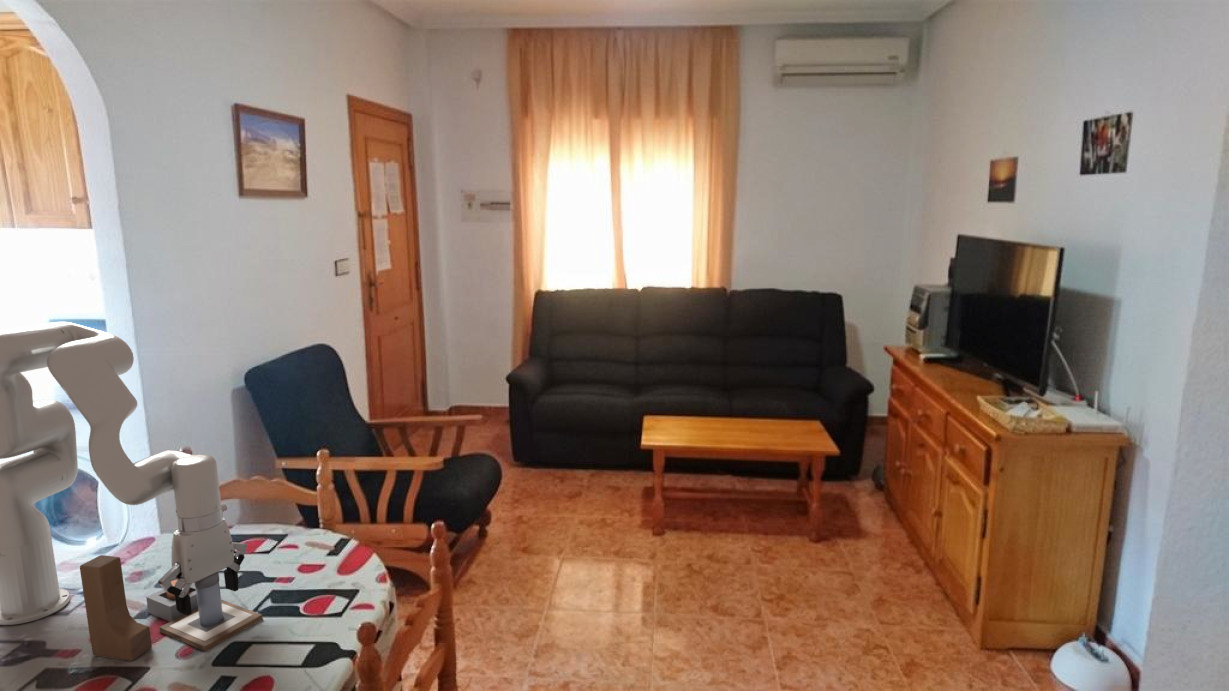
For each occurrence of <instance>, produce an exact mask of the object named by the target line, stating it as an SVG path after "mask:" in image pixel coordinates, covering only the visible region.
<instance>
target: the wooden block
mask: <svg viewBox="0 0 1229 691" xmlns="http://www.w3.org/2000/svg"><path fill="white" fill-rule="evenodd" d="M79 572H80V578H81V585H82V586H81V587H82V592H83V593H82V594H83V599H84V605H85V613H86V619H87V624H88V634H89V640H90V648H91V653H92V655H93V656H95V657H102V658H111V659H117V660H122V661H123V660H124V661H128V662H129V661H130V662H133V661H135V660H136V659H137V658H139V657H140V656H142V655H143V654H145V653H146V652H147V651H149V650H151V649H152V647H153V646H152V644H153V643H152V637H151V629H150V627H149V625H146V624H142V623H140V622H138V621H136V619H135V618H133V617H132V615H131V613H130V611H129V608H128V604H127V598H126V591H125V590H126V589H125V583H124V576H123V569H122V560H121V557H119V556H111V555H103V554H101V555H100V554H99V555H98V556H97V557H95V558H92V559H91V560H89V561H87V562H84V563H82V564H80V566H79Z"/></svg>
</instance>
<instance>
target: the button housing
mask: <svg viewBox="0 0 1229 691" xmlns="http://www.w3.org/2000/svg"><path fill="white" fill-rule="evenodd" d="M188 595H189V596H190V602H191V611H193V610H195V609H197V608H198V603H197V595H196V587H195V583H192V585H191V586H190V588H189V594H188ZM146 605H147V612H148V614H151V615H152V616H155V617H157V618H160V619H163V620H164V621H168V623H169V622H171V621H173V620H175V619H177V618H179V617H181V616H183V615H185V614H183V613H180V612H179V611H177V608H176V601H175V600H169V599H167V595H166V591H164V589H163V588H162V589H161V590H159V591H156V592H154V593H153V594H150V595H148V596H146Z"/></svg>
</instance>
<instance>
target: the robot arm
mask: <svg viewBox="0 0 1229 691" xmlns="http://www.w3.org/2000/svg"><path fill="white" fill-rule="evenodd" d="M133 364H134V352H133V350H132V349H131V347H130V346H129V344H128V343H127V342H126V341H125V340H123V339H122V338H121V337H119V336H117V335H115V334H112V333H109V332H106V331H103V330H99V329H95V328H91V327H87V326H86V325H85V326H84V325H81V324H77V323H73V322H69V321H55V322H47V323H40V324H39V323H38V324H34V325H33V324H32V325H25V326H18V327H13V328H12V327H11V328H6V329H1V330H0V460H1V459H2V460H3V459H4V460H5V459H9V458H14V457H18V456H21V455H23V454H27V453H30V454H27V455H24V456H22V457H18V458H15V459H12V460H8V461H6V462H3V463H0V626H13V625H15V626H16V625H20V624H25V623H26V624H27V623H30V622H31V623H32V622H33V621H38V620H40V619H43V618H46V617H48V616H50V615H53V614H54V613H56V612H58V611H60V610H61V609H63V608H64V607H65V606H66V605H67V604H68V603H69V602H70V600H71V595H70V592H69V591H68V590H67V589H65V588H60V585H59V578H58V571H57V566H56V565H57V564H56V558H55V553H54V545H53V539H52V532H51V527H50V524H49V520H48V518H47V517H46V516H45V515H44V513H42V512H41V511H40V510H39V509H37V507H36V505H35V504H36V503H37V502H39V501H41V500H43V499H46V498H48V497H51V496H53V495H55V494H58V493H60V492H62V491H64V490H67V489H68V488H69V487H71V486H72V485H73V484H74V482H75V481H76V479H77V477H78V476H77V475H78V471H79V470H78V468H79V466H78V464H79V463H78V448H77V435H76V434H77V432H76V424H75V419H74V417H73V415H72V413H71V411H70V410H69V408H67V406H66V405H64V404H63V403H62V402H60V401H58V400H55V399H49V398H47V399H38V400H35V401H34V399H33V388H32V385H31V383H30V382H29V380H28V378H26V376H25V375H24V374H22V373H23V372H24V373H25V372H29V371H34V370H38V369H39V370H40V369H44V368H48V370H49V373H50V374H51V375H52V377H53V378H54V379H55V381H56V382H57V383H58V385H59V386H60V388H61V389H62V390H63V391H64V393H65V395H67V396H68V398H69V399H70V400H71V401H72V403H73V405H74V406H75V407H76V409H77V410H78V412H79V413H80V414H81V416H83V417H84V419H85V420H86V421H87V423H88V426H89V427H90V428H89V430H90V432H89V436H88V453H89V460H90V464H91V467H92V470H93V472H94V473H95V474H96V476H97V478H98V479H99V480H100V482H101V483H102V484H103V485H104V487H105V488H106V489H107V490H108V492H109V493H110V494H111V495H112V496H113V497H114V498H115V499H116V500H118V501H119V502H120V503H123V504H124V505H129V506H138V505H142V504H145V503H147V502H149V501H151V500H153V499H155V498H158V497H159V496H161V495H163V494H165V493H168V492H171V491H173V500H174V505H175V506H174V508H175V516H176V523H177V530H174V531H173V534H172V539H171V540H172V541H171V554H170V555H171V567H170V569H169V570H167V571H166V573H165V574H163V576H161V578H159V580H158V581H157V584H158V585H159V586H160V587H161V588H162V590H163V589H164V591H166V592H169V593H171V594H174V595H175V601H176V608H177V611H179V612H180V613H183V614H185V615H190V614H191V613H192V611H191V602H190V596H189V595H188V594H187V592H188V590H189V588H190V586H191V585H192V583H195V582H197V581H199V580H201V579H204V578H206V577H208V576H210V575H212V574H214V573H216V572H220V571H223V577H224V585H225V586H224V587H225V589H227V590H230V591H232V592H237V591H239V574H238V573H239V571H240V570H241V564H242V563H243V561H244V560H245V554H246V551H247V549H248V544H246V543H245V542H233V538H232V536H231V535H232V534H231V531H230V528H229V526H228V522H227V520H226V519H225V518H224V512H225V511H227V510H228V506H227V505H226V504H224V503H223V504H222V501H221V490H220V482H219V472H218V465H217V461H216V459H215V457H213V456H212V455H209V454H190V453H187V452H184V451H180V450H175V449H168V450H167V449H166V450H163V451H161V452H158V453H155V454H153V455H150V456H148V457H145V458H142V459H141V460H138V461H135V462H133V461H131V459H130V457H128V455H127V453H126V452H125V451H124V449H123V447H122V446H123V445H122V444H121V439H120V434H121V429H122V426H123V424H124V422H125V421H126V419H128V418H129V417H130V416H131V415H132V414H133V413H134V412H135V411H136V409H137V407H138V400H137V399H136V397H135V396H134V395H133V394H132V392H131V391H130V390H129V387H127V385H126V384H125V382H124V381H123V380H122V379H121V377H120V376H121V375H124V374H125V373H127V372H129V370H130V369H132V367H133ZM32 451H33V452H32ZM31 452H32V453H31ZM235 550H236V551H235ZM234 551H235V552H234ZM177 579H178V580H177ZM173 580H177V582H176V583H175V585H174V586H173V585H172V584H171V581H173ZM184 582H185V583H184ZM183 583H184V584H183ZM182 585H183V586H182ZM181 587H182V588H181Z"/></svg>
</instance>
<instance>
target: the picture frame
mask: <svg viewBox="0 0 1229 691" xmlns="http://www.w3.org/2000/svg"><path fill="white" fill-rule="evenodd" d="M221 603H222V612H223V619H222V620H221V621H220V622H218V623H216V624H214V625H210V626H203V625H201V624H200V619H199V611H198V608H197V609H195V610H193V611H192V613H191V614H190V615H183V616H181V617H179V618H177V619H175V620H173V621H171V622H169V621H168V622H167V623H165V624H163V625H161V626H159V633H161V634H164V635H167V636H169V637H171V638H173V639H176V640H178V641H180V642H183V643H185V644H187V645H190V646H192V647H194V648H197V649H199V650H201V651H203V652H206V651H209V650H210V649H213V648H214V647H216V646H218V645H219V644H221V643H222V642H224V641H227V640H229V639H230V638H232V637H234V636H235V635H237V634H239V633H241V632H242V631H244V630H246V629H247V628H250V627H251V626H253V625H255V624H257V623H258V622H260V621H262V620H263V618H264V617H263V614H261V613H259V612H256V611H254V610H250V609H248V608H246V607H243V606H241V605H237V604H235V603H233V602H229V601H226V600H224V599H222V598H221Z"/></svg>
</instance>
